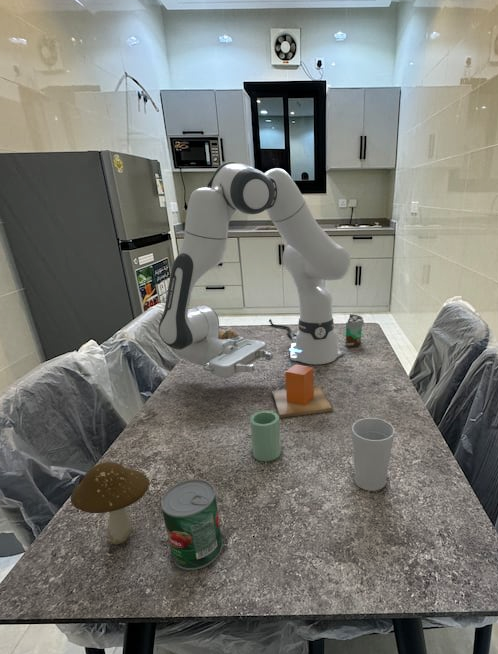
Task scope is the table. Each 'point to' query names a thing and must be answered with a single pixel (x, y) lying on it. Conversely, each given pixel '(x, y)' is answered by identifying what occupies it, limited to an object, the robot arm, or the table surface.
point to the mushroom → (111, 496)
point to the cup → (371, 452)
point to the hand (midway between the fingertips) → (262, 362)
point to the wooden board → (292, 409)
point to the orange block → (299, 384)
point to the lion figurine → (227, 334)
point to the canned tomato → (192, 523)
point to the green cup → (265, 435)
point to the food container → (354, 330)
